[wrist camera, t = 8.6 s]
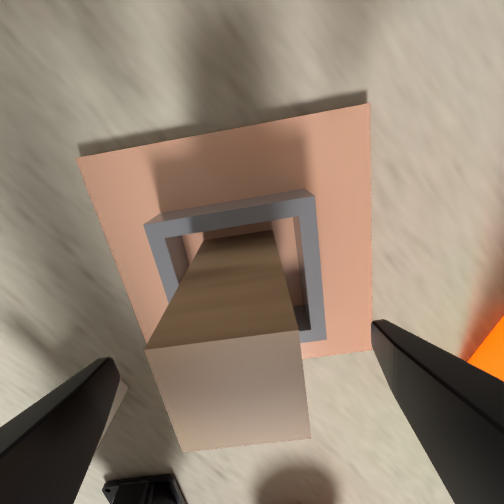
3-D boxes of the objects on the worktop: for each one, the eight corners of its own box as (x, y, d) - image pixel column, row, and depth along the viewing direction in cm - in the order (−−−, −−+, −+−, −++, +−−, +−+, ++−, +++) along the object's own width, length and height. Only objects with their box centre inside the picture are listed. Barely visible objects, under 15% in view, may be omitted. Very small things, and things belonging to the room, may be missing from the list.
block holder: (369, 344, 18) (390, 379, 16) (161, 372, 19) (146, 409, 17) (365, 104, 13) (396, 92, 10) (81, 157, 14) (38, 159, 11)
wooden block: (280, 291, 16) (311, 438, 8) (217, 299, 17) (182, 452, 8) (272, 229, 15) (298, 329, 7) (203, 240, 15) (143, 350, 7)
